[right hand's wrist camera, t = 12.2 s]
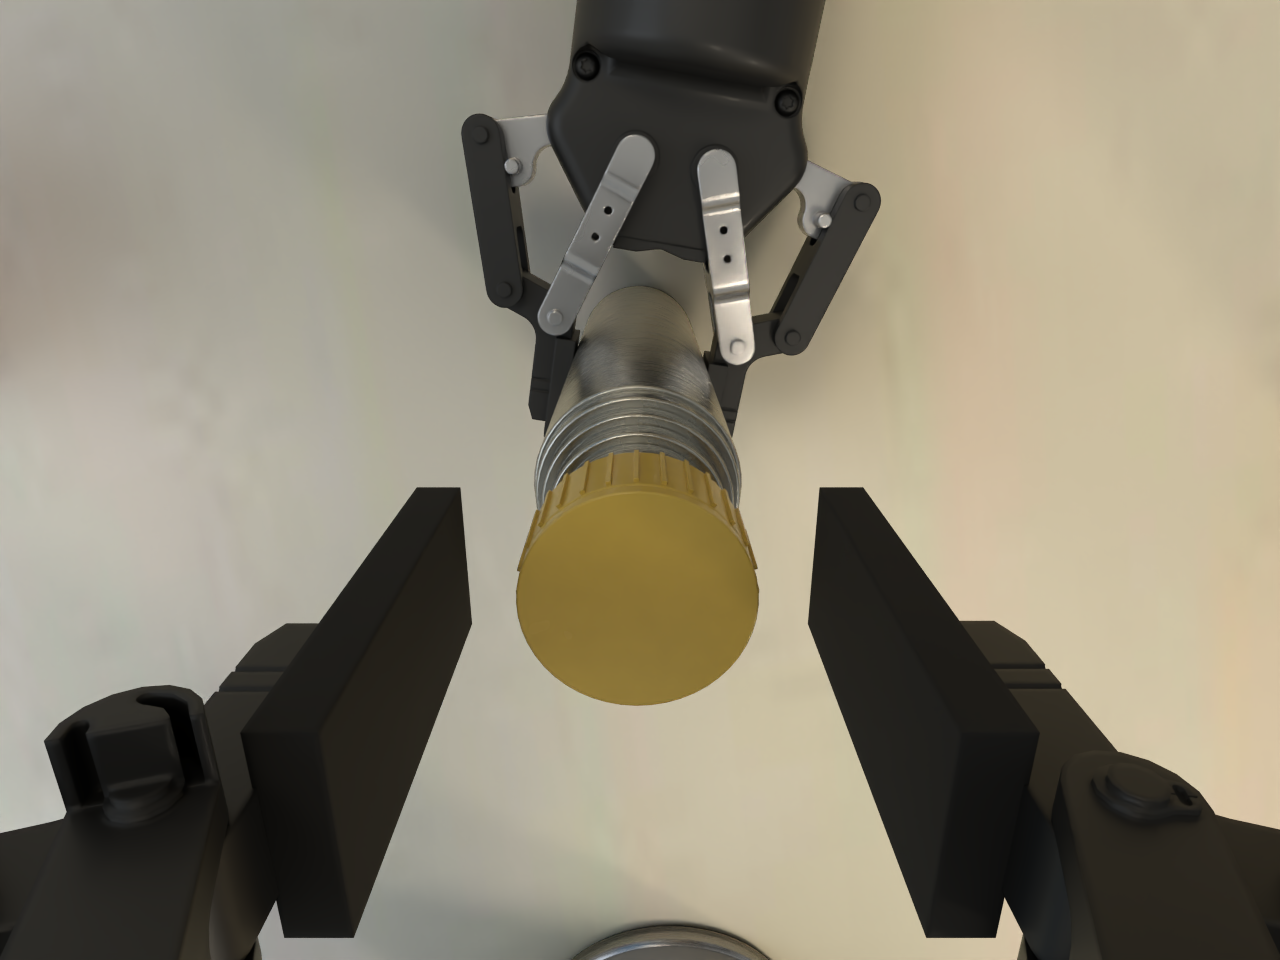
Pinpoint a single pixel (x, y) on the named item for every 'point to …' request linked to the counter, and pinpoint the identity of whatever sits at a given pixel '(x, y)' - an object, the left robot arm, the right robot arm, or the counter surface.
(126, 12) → the counter surface
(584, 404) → the bottle
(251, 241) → the counter surface
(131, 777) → the right robot arm
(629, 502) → the cap
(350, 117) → the counter surface
